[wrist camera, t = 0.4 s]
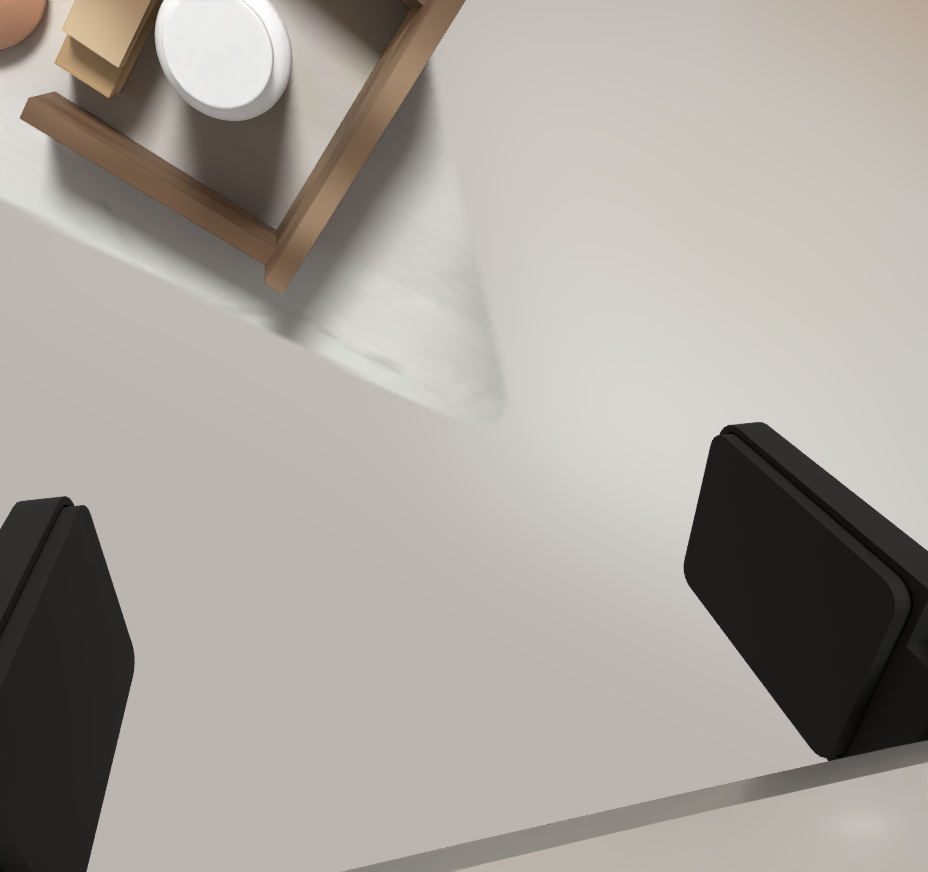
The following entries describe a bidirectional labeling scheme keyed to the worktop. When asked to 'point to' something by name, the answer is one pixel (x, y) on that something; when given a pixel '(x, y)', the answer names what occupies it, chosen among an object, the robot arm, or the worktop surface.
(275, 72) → the supplement bottle
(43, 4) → the terracotta coaster
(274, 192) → the worktop surface
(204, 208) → the frame
